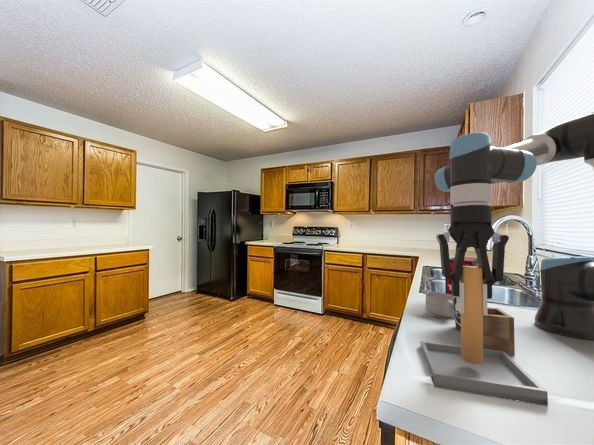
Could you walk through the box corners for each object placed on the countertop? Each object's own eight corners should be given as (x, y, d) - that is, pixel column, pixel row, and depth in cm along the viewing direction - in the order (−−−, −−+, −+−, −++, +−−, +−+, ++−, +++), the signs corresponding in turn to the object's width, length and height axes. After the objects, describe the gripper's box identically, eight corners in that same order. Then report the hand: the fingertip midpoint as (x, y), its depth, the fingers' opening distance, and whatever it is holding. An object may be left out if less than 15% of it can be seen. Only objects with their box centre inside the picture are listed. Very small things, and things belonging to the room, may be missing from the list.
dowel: (478, 356, 57) (478, 266, 58) (486, 365, 53) (485, 269, 54) (458, 353, 58) (457, 265, 59) (464, 362, 54) (463, 267, 55)
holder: (499, 345, 69) (498, 308, 69) (514, 359, 61) (514, 317, 62) (465, 341, 71) (464, 305, 72) (476, 354, 64) (475, 314, 64)
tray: (504, 361, 60) (503, 351, 61) (547, 405, 45) (547, 391, 45) (420, 350, 66) (420, 340, 66) (434, 386, 50) (434, 374, 50)
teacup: (424, 310, 99) (424, 290, 100) (456, 314, 95) (456, 292, 96) (428, 322, 86) (428, 298, 87) (465, 327, 82) (465, 302, 83)
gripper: (506, 206, 58) (508, 311, 57) (425, 207, 63) (426, 304, 62) (525, 202, 51) (527, 322, 50) (432, 204, 55) (433, 313, 55)
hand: (471, 312), depth 56 cm, fingers closed on dowel, 3 cm apart
